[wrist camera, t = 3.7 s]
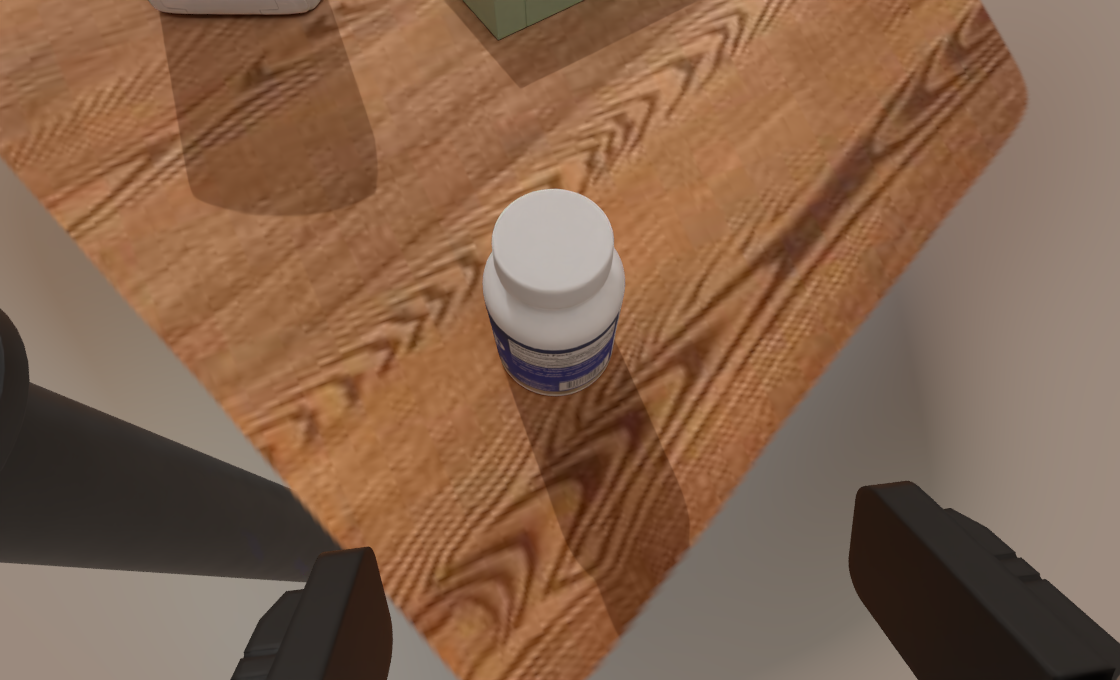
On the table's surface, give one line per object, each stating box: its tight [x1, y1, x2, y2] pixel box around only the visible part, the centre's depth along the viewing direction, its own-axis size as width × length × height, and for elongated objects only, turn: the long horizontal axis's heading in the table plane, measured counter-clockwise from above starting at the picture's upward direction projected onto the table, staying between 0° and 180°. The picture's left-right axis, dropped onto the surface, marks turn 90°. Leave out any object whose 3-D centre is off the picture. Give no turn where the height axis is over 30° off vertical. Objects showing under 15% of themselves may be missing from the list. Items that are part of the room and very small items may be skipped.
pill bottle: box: [483, 189, 625, 396], centre depth 23 cm, size 5×5×9 cm
